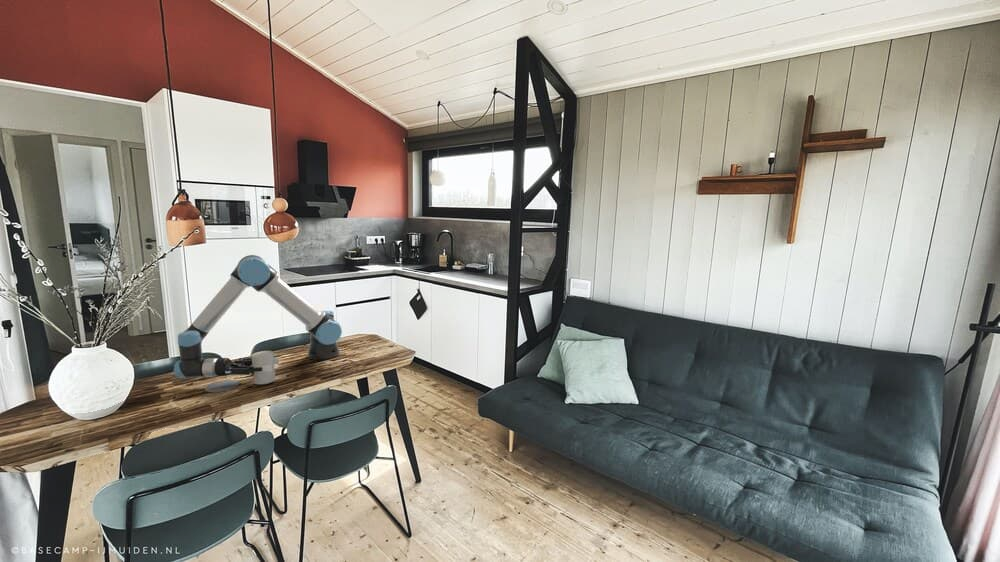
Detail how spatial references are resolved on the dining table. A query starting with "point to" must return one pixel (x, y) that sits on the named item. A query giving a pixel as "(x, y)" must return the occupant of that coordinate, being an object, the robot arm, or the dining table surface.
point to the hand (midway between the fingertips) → (275, 364)
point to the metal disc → (222, 386)
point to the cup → (263, 359)
